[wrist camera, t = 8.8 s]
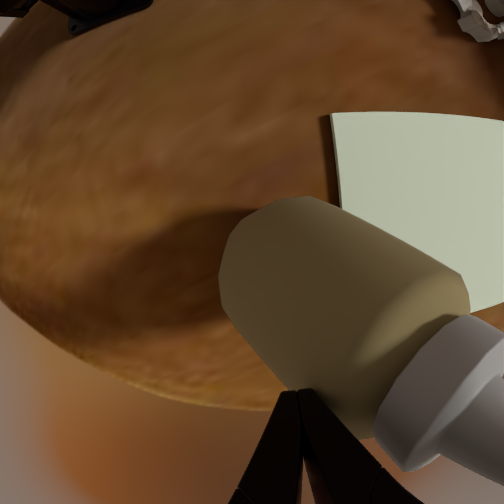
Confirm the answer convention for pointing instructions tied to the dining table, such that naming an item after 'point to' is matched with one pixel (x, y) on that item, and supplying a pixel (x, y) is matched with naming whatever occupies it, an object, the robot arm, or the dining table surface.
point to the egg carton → (480, 19)
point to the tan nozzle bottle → (369, 332)
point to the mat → (429, 188)
